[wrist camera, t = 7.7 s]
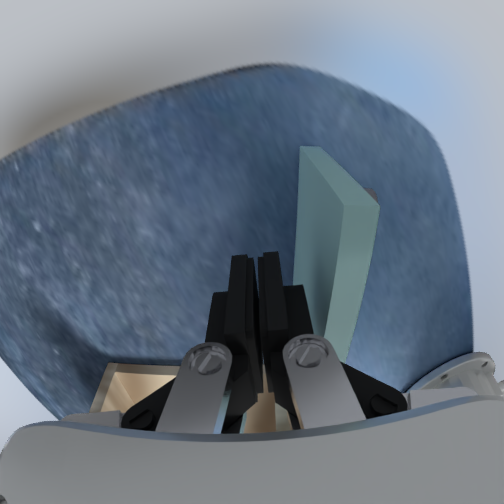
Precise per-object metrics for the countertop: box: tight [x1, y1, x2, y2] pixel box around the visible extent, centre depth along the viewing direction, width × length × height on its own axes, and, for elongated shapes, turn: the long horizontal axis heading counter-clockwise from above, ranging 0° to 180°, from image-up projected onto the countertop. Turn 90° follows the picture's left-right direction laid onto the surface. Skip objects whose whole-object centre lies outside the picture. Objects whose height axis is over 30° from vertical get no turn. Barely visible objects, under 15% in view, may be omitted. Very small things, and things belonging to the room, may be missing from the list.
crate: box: [89, 363, 291, 433], centre depth 23 cm, size 15×16×9 cm
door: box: [293, 146, 380, 363], centre depth 14 cm, size 14×2×8 cm, turn 1°
